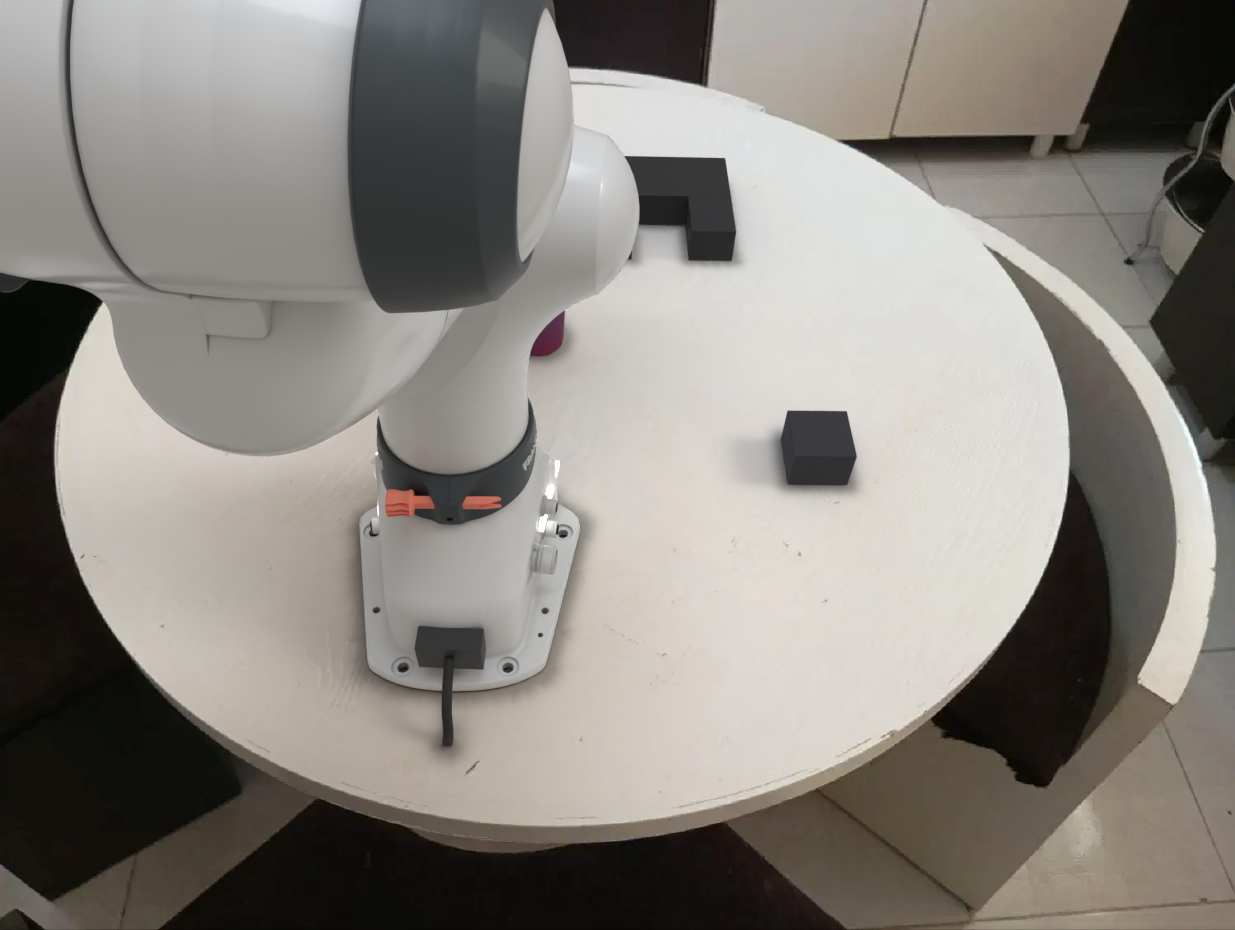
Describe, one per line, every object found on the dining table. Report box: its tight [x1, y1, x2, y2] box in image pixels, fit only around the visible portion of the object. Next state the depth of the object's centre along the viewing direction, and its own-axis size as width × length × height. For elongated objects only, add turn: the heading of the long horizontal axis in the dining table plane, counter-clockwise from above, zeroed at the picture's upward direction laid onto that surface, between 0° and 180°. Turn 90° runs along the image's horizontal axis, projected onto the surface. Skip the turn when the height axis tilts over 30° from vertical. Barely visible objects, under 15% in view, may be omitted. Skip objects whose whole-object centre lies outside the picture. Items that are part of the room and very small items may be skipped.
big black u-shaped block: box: [624, 155, 737, 262], centre depth 113 cm, size 14×16×4 cm
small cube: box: [780, 410, 858, 486], centre depth 90 cm, size 6×6×4 cm
